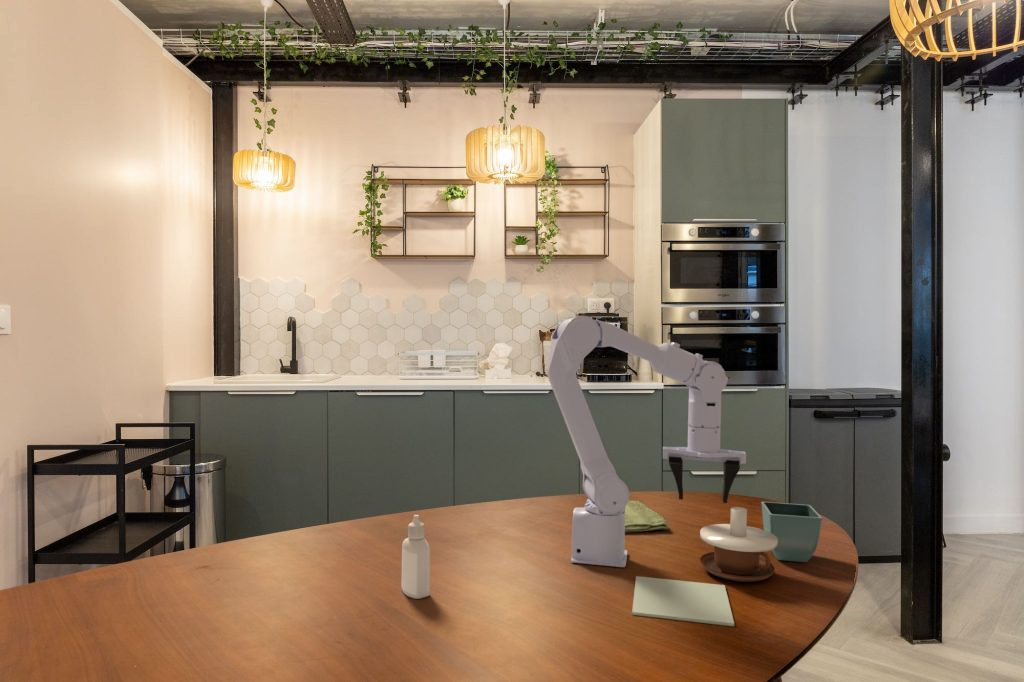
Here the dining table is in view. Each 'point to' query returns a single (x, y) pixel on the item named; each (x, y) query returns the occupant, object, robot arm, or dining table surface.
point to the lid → (738, 534)
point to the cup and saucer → (737, 565)
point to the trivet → (682, 601)
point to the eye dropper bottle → (416, 562)
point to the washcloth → (642, 518)
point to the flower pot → (792, 529)
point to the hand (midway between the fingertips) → (702, 499)
